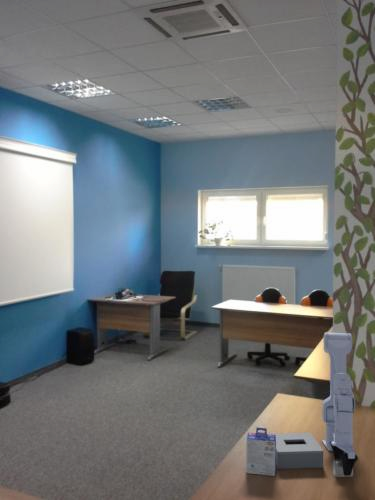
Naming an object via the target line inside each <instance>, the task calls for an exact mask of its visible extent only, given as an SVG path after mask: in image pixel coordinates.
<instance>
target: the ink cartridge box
mask: <svg viewBox="0 0 375 500" xmlns="http://www.w3.org/2000/svg"><path fill="white" fill-rule="evenodd" d="M259 431H264V432H259ZM273 434H274V433H268V428H266V427H265V428H263V427H256V428H255V432H248V433H247V435H246V474H251V475H253V474H254V475H262V476H269V477H270V476H271V477H275V476H276V470H277V466H276V435H273Z"/></svg>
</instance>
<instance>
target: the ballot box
mask: <svg viewBox="0 0 375 500" xmlns="http://www.w3.org/2000/svg"><path fill="white" fill-rule="evenodd" d="M272 434H273V435H276V469H278V470H281V469H282V470H283V469H285V470H287V469H289V470H290V469H311V468H312V469H313V468H314V469H315V468H317V469H320V468H321V469H322V468H323V469H324V449H323V448H322V447H321V445H320V444H319V442H318V441H317V439H316V438H315V437H314V436H313V435H314V434H312V432H292V433H291V432H290V433H289V432H288V433H286V432H285V433H284V432H282V433H272Z"/></svg>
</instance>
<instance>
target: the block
mask: <svg viewBox="0 0 375 500" xmlns="http://www.w3.org/2000/svg"><path fill="white" fill-rule="evenodd" d="M332 474H333V476H334V477H335V478H348V477H349V478H350V477H351V478H352V477H353V476H354V468H353V469H352V473H351V475H350V476H345V475H344V473H343V465H342V461H341V459H334V458H333V459H332Z"/></svg>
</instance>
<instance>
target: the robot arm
mask: <svg viewBox="0 0 375 500" xmlns="http://www.w3.org/2000/svg"><path fill="white" fill-rule="evenodd" d="M352 349H353V335H352V334H351V333H350V332H348V333H347V332H345V333H344V332H327V331H325V332H324V333H323V352H324V353H326V354H328V356H329V369H330V371H329V374H330V375H329V377H330V378H329V383H330V384H329V396H328V397H327V398H325V399H323V401H322V408H321V410H322V411H321V413H322V414H321V418H322V421H323V422H324V423H325V439H322V440H321V442H322V443H323V446H325V448H326V449H327V450H328V452H332V453H333V457H334V458H333V459H341V461H342V465H343V473H344V475H345V476H350V475H351V473H352V469H353V470H354V466H355V464H356V462H357V461H358V459H359V456H358V455H357V454H356V452H355V451H354V450H355V449H354V431H353V425H354V424H353V421H354V413H355V410H356V399H355V396H354V392H353V390H352V389H353V388H352V380H351V376H350V375H349V373H348V372H347V355H348V354H350V353H351V351H352Z"/></svg>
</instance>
